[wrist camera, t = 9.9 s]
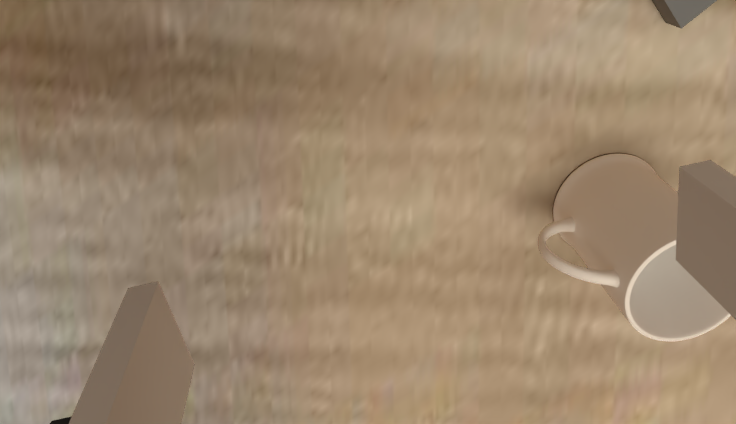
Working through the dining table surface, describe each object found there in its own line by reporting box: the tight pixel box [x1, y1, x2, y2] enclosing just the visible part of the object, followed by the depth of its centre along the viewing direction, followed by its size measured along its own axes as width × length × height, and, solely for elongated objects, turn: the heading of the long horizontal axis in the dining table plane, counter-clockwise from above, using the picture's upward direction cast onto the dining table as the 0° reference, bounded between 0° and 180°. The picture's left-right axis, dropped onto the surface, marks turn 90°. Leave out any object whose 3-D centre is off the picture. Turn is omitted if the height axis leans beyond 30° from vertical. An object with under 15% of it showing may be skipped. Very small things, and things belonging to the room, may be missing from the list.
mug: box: [538, 154, 731, 341], centre depth 43 cm, size 12×9×12 cm
